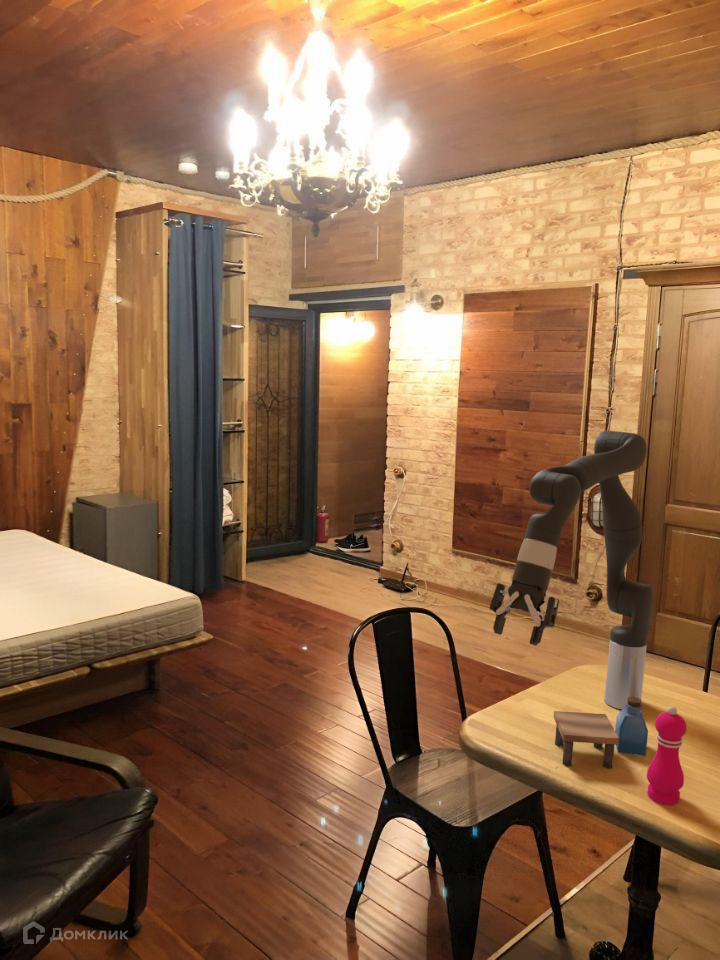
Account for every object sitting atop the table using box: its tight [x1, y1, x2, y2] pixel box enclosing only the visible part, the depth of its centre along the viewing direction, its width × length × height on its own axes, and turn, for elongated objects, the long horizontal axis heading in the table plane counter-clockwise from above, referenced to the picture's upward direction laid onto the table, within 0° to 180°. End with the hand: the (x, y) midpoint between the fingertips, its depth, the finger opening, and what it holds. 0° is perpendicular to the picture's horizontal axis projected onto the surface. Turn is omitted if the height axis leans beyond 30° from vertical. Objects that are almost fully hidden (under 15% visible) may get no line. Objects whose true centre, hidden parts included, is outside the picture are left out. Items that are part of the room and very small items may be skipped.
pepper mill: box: [646, 705, 687, 806], centre depth 162 cm, size 7×7×20 cm
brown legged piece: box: [553, 710, 619, 770], centre depth 179 cm, size 12×12×8 cm
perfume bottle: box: [614, 697, 649, 757], centre depth 183 cm, size 6×6×12 cm
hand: (514, 639), depth 163 cm, fingers open, 8 cm apart
